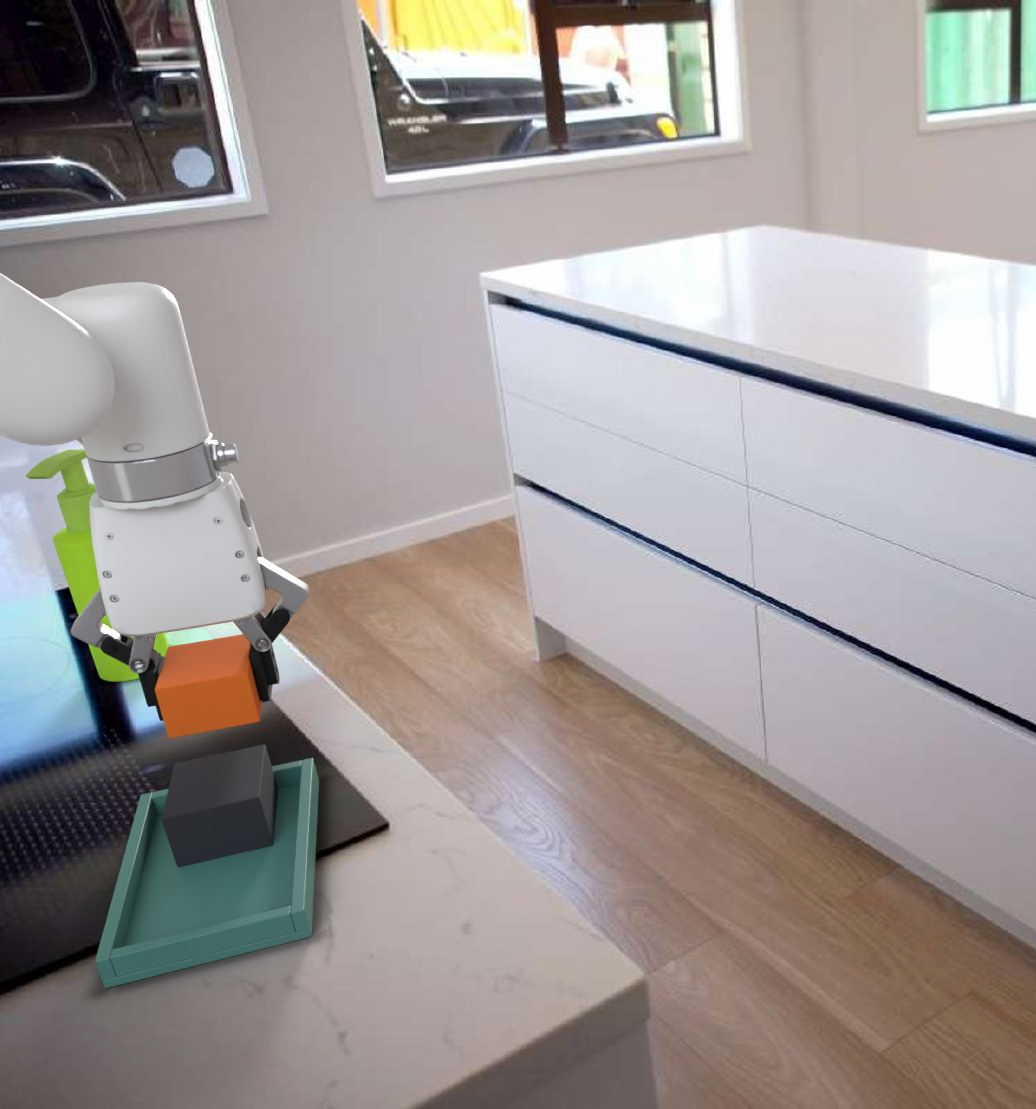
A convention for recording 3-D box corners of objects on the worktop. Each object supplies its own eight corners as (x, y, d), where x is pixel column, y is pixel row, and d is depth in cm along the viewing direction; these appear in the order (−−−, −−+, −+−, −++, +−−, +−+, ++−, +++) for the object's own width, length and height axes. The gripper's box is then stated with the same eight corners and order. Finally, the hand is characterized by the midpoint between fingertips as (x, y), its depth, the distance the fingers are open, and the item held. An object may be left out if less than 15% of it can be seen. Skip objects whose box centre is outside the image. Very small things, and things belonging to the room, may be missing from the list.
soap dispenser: (76, 687, 109) (0, 470, 101) (126, 648, 115) (58, 441, 107) (138, 688, 108) (67, 469, 100) (185, 649, 114) (121, 440, 106)
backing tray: (104, 989, 75) (94, 961, 74) (148, 818, 90) (140, 794, 90) (311, 936, 78) (304, 909, 77) (319, 781, 94) (313, 757, 93)
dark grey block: (177, 868, 84) (160, 818, 82) (189, 810, 90) (174, 763, 88) (273, 845, 86) (258, 796, 84) (278, 790, 92) (265, 743, 90)
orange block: (168, 739, 89) (154, 689, 87) (181, 693, 95) (167, 646, 93) (260, 722, 90) (247, 672, 89) (266, 678, 97) (254, 631, 95)
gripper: (294, 437, 91) (342, 658, 98) (25, 472, 86) (96, 701, 93) (289, 469, 85) (341, 703, 92) (-2, 508, 80) (76, 752, 87)
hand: (217, 700), depth 92 cm, fingers closed on orange block, 6 cm apart
